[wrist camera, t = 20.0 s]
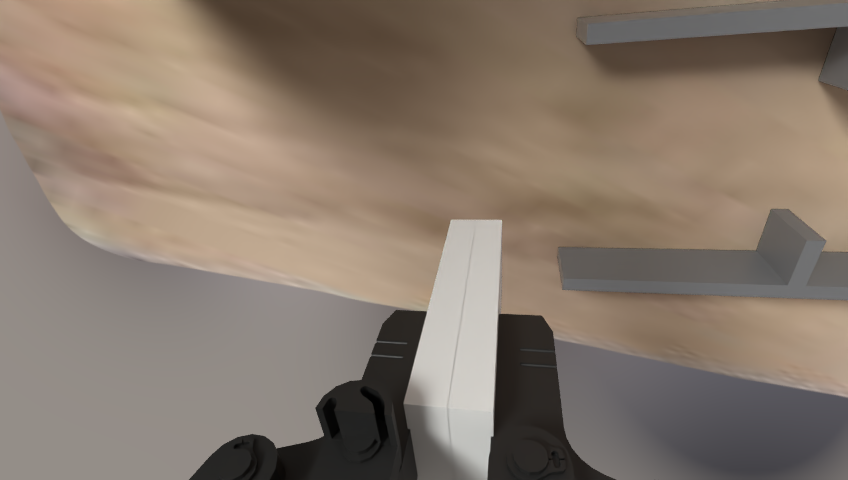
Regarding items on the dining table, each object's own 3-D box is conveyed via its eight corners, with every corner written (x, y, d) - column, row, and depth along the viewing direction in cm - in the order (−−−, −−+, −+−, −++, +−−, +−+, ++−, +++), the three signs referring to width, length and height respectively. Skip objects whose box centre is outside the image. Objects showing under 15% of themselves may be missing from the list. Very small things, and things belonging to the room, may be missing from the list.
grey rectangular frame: (577, 17, 30) (588, 23, 26) (1223, -37, 23) (1378, -41, 19) (557, 257, 40) (562, 289, 36) (1002, 267, 34) (1071, 308, 30)
